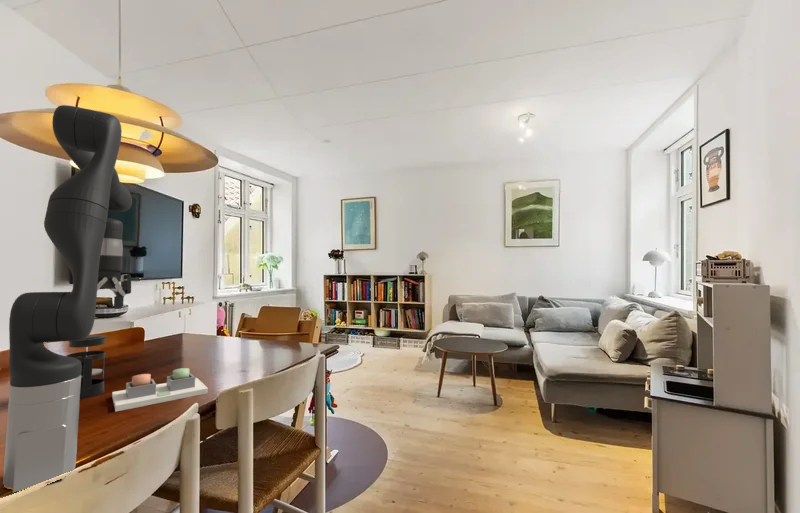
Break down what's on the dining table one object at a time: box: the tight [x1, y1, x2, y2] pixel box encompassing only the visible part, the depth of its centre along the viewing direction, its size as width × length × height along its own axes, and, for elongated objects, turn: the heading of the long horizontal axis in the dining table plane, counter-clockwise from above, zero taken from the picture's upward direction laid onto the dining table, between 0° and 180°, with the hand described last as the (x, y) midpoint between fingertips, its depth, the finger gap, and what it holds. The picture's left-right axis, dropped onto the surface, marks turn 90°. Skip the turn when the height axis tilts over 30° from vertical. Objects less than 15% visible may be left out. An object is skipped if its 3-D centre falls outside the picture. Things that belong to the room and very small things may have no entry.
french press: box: [66, 316, 108, 400], centre depth 104 cm, size 12×9×23 cm
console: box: [111, 372, 209, 413], centre depth 104 cm, size 14×22×4 cm, turn 133°
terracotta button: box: [131, 373, 152, 387], centre depth 101 cm, size 4×4×3 cm
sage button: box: [172, 367, 190, 380], centre depth 108 cm, size 4×4×3 cm
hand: (102, 310), depth 101 cm, fingers open, 8 cm apart
